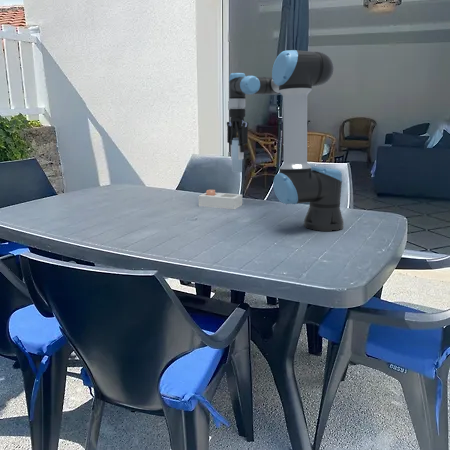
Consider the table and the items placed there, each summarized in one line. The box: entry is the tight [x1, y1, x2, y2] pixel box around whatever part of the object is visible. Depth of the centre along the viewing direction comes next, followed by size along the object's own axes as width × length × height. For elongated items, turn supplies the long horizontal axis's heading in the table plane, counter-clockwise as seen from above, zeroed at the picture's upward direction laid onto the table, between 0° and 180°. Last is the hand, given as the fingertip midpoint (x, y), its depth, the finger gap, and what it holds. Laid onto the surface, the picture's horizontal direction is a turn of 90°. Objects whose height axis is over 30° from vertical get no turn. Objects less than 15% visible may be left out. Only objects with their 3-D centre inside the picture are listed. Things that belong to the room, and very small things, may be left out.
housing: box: [198, 192, 243, 210], centre depth 201 cm, size 10×18×6 cm, turn 67°
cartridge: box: [231, 137, 243, 173], centre depth 204 cm, size 5×5×16 cm
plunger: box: [205, 189, 216, 196], centre depth 202 cm, size 4×4×6 cm
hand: (237, 158), depth 204 cm, fingers closed on cartridge, 5 cm apart
